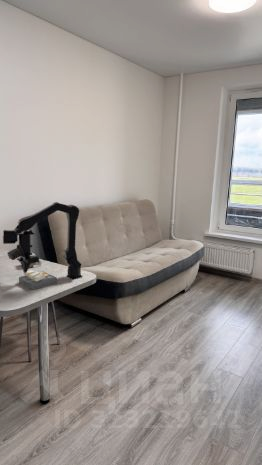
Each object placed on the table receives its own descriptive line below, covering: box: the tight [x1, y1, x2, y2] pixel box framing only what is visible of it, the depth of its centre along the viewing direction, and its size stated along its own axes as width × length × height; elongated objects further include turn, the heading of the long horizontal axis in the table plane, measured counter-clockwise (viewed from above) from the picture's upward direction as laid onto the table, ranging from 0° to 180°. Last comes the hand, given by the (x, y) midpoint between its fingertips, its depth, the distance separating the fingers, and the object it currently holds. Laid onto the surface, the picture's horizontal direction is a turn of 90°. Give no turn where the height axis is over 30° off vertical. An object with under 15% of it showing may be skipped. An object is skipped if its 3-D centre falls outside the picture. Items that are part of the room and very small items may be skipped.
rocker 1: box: [23, 269, 37, 276], centre depth 168 cm, size 5×3×2 cm, turn 136°
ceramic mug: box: [29, 251, 42, 268], centre depth 194 cm, size 11×8×8 cm
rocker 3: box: [32, 274, 45, 282], centre depth 162 cm, size 5×3×2 cm, turn 136°
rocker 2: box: [28, 271, 40, 279], centre depth 165 cm, size 5×3×2 cm, turn 136°
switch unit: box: [18, 270, 58, 291], centre depth 167 cm, size 14×14×3 cm
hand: (25, 272), depth 166 cm, fingers closed
